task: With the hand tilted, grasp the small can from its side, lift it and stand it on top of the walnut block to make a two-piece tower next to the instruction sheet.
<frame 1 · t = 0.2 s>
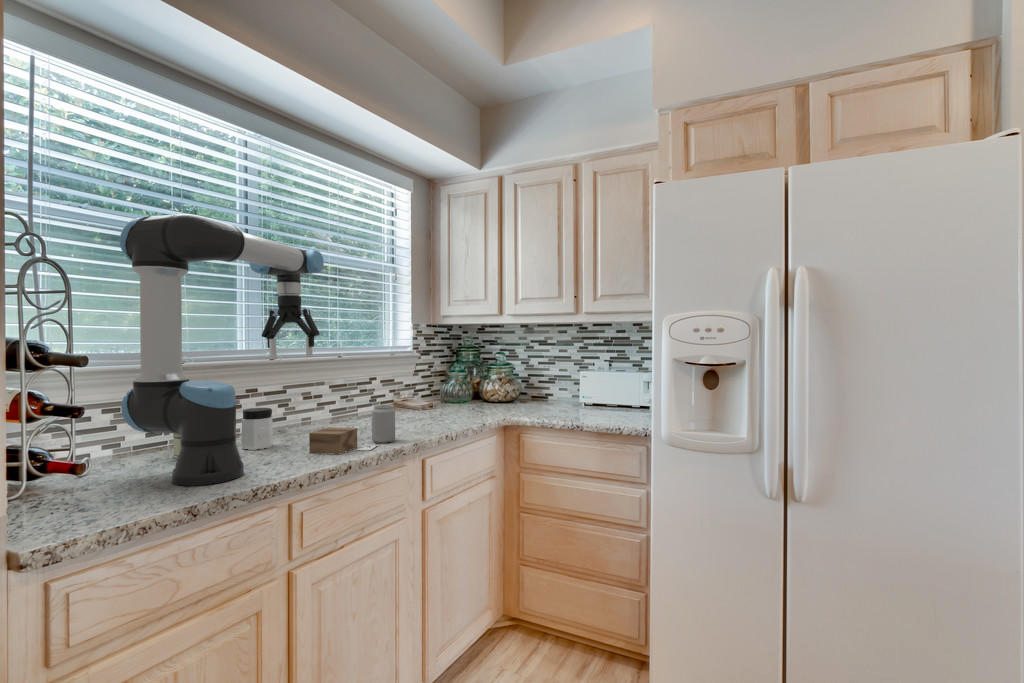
hand: (291, 357, 175), 28 cm above the worktop, tool pointing down, fingers open, 13 cm apart
coffee can: (193, 455, 149), on the worktop
walnut block: (333, 450, 155), on the worktop
instruction sheet: (367, 447, 158), on the worktop
jar: (257, 448, 160), on the worktop
can: (383, 442, 168), on the worktop
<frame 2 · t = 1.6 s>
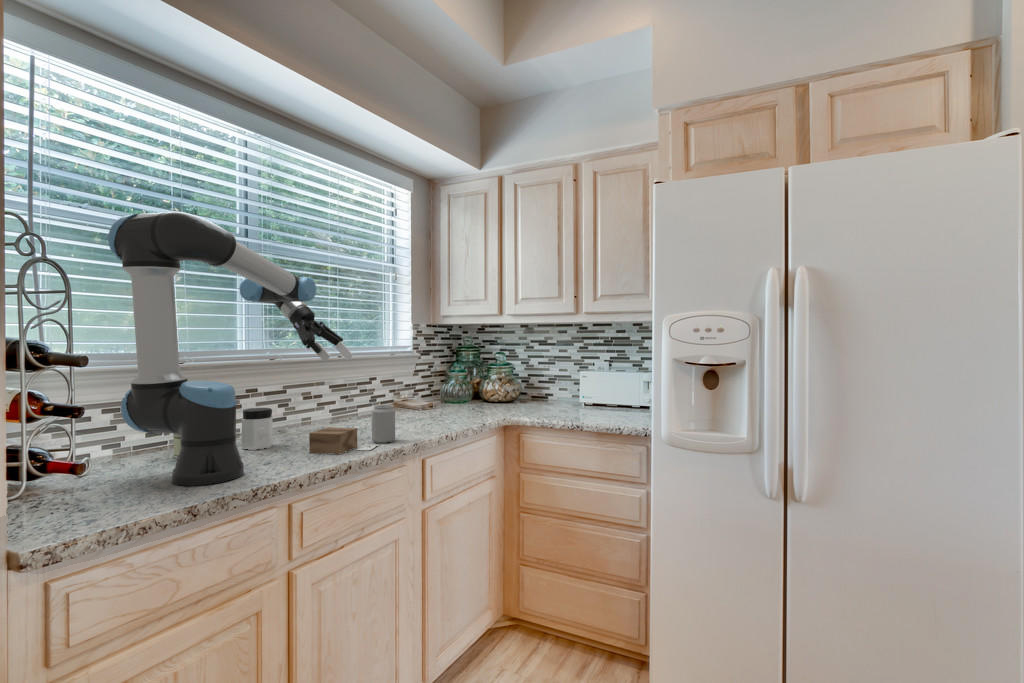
hand: (339, 358, 167), 28 cm above the worktop, tool tilted 45°, fingers open, 13 cm apart
nothing on the worktop moved.
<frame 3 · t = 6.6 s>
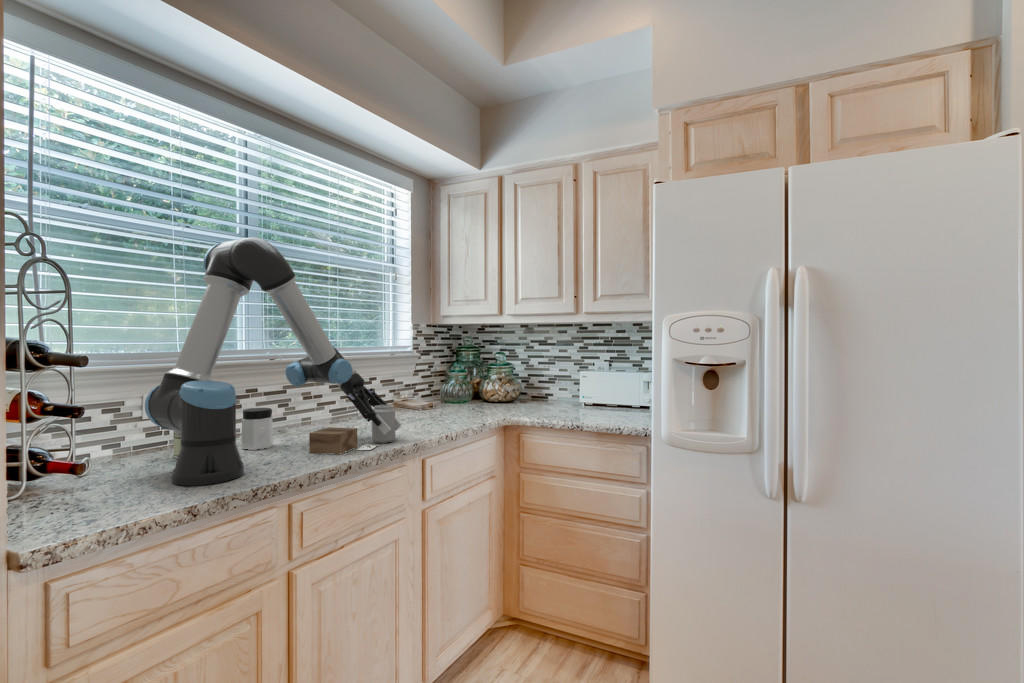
hand: (393, 429, 167), 4 cm above the worktop, tool tilted 45°, fingers closed on can, 7 cm apart
can: (383, 442, 168), on the worktop, touching gripper
everything else where it was.
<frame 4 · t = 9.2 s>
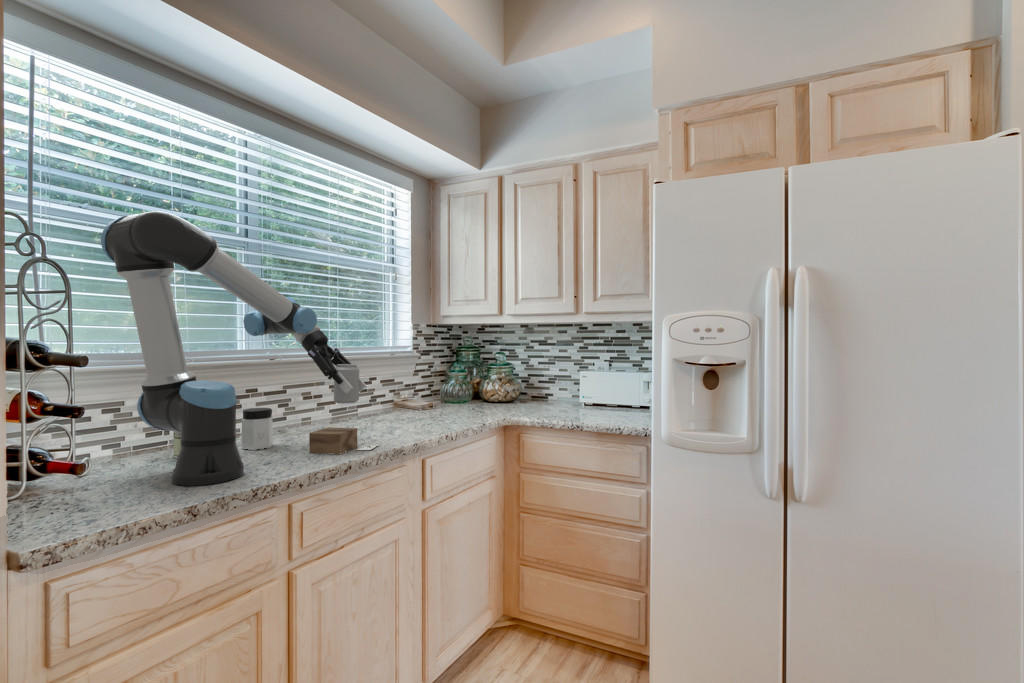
hand: (356, 389, 157), 18 cm above the worktop, tool tilted 45°, fingers closed on can, 7 cm apart
can: (346, 403, 158), point 14 cm above the worktop, touching gripper
everything else where it was.
when the fingers open (11 cm above the worktop, at t = 11.7 s): can stays where it is, resting on walnut block.
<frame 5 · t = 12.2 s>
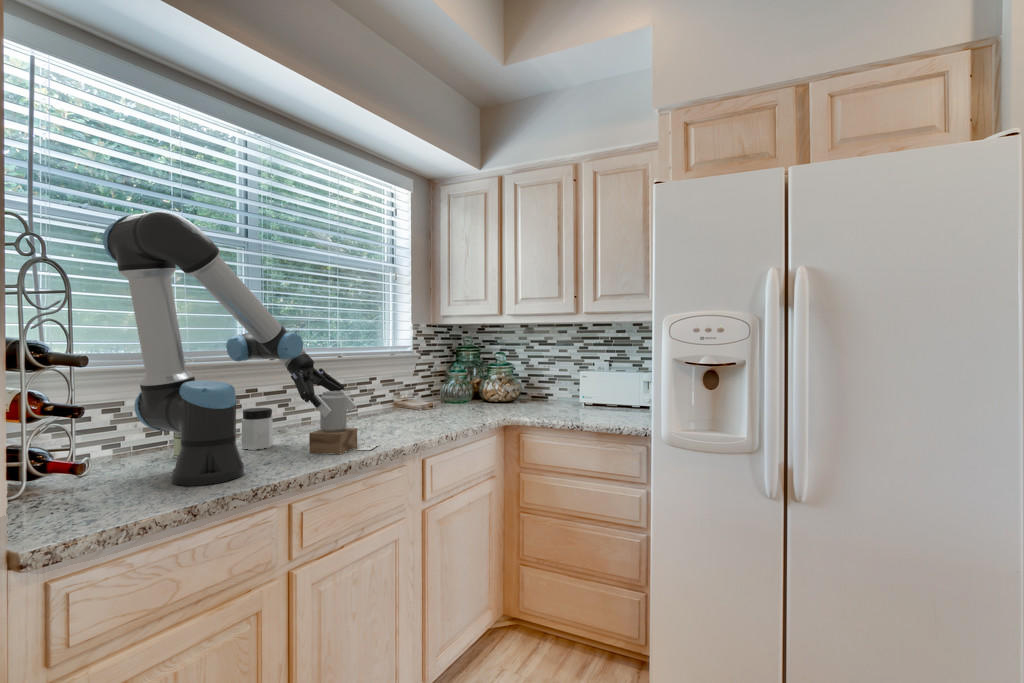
hand: (340, 410, 155), 12 cm above the worktop, tool tilted 45°, fingers open, 13 cm apart
can: (333, 431, 155), point 6 cm above the worktop, touching walnut block
everything else where it was.
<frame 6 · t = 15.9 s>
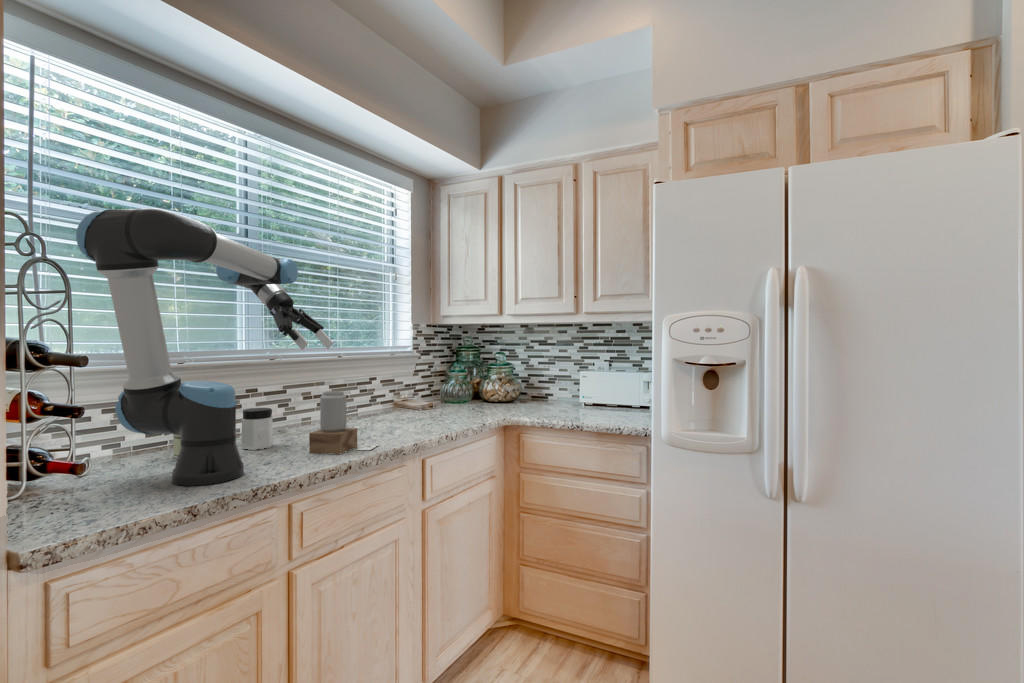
hand: (318, 346, 160), 32 cm above the worktop, tool tilted 45°, fingers open, 13 cm apart
nothing on the worktop moved.
at the end: can inside the target area on the walnut block (0.1 cm from its centre), point 5.8 cm above the walnut block's base; can tilted 0°; the gripper is holding nothing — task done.
